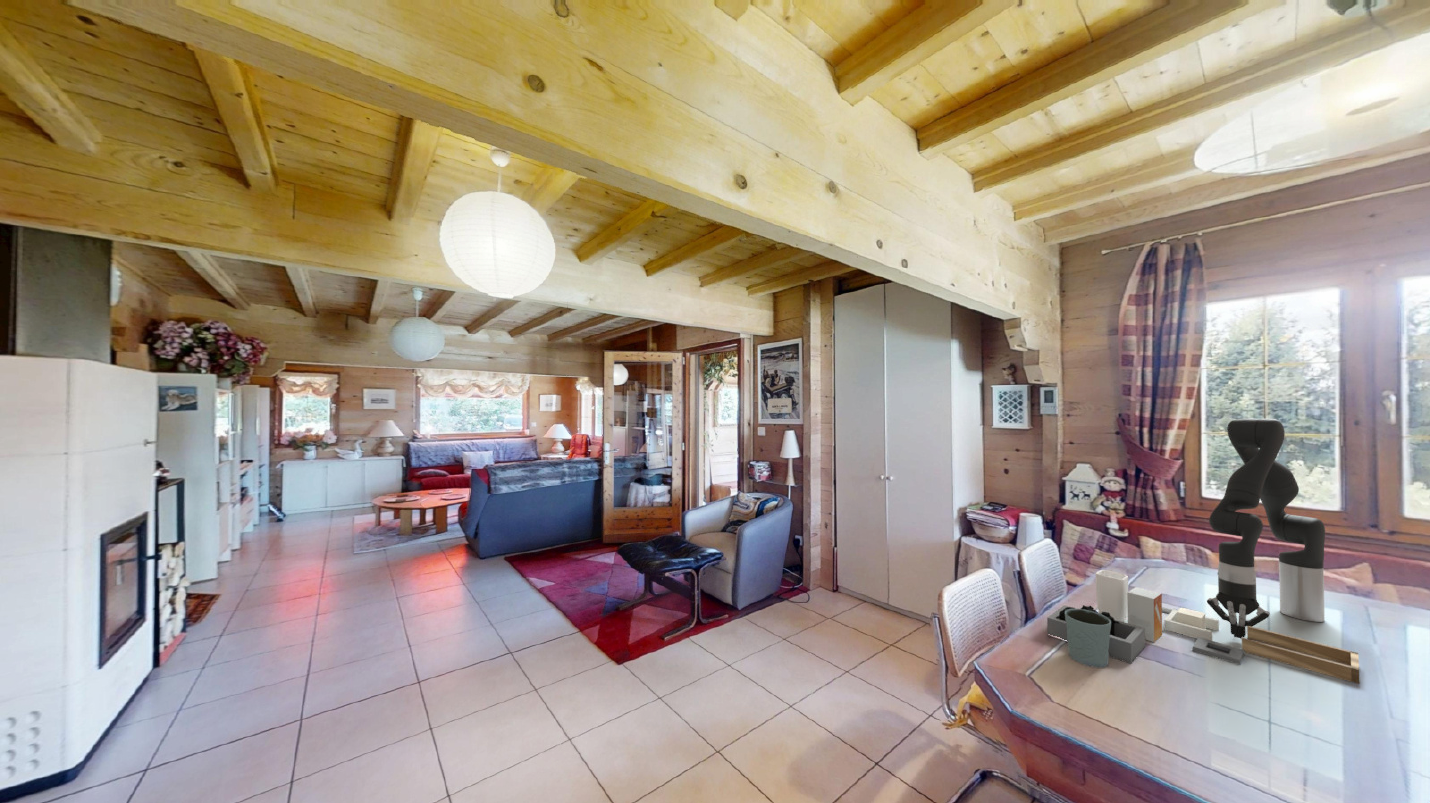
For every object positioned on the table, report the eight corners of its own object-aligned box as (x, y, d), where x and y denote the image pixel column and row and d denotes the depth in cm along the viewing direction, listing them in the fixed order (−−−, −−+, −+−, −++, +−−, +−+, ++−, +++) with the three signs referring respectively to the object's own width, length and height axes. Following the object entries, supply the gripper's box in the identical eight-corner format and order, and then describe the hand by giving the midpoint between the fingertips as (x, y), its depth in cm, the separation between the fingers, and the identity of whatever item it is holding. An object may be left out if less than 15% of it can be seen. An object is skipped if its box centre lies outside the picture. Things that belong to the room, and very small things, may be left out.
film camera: (1072, 645, 135) (1071, 614, 135) (1055, 630, 145) (1055, 601, 145) (1132, 651, 132) (1132, 620, 132) (1111, 635, 141) (1111, 606, 142)
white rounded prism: (1130, 620, 151) (1129, 575, 152) (1122, 626, 147) (1122, 580, 148) (1102, 612, 158) (1101, 568, 158) (1094, 618, 153) (1093, 573, 154)
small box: (1154, 642, 137) (1154, 598, 138) (1127, 634, 143) (1126, 591, 143) (1163, 635, 142) (1162, 592, 142) (1135, 627, 147) (1135, 586, 147)
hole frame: (1198, 640, 138) (1198, 636, 138) (1244, 653, 131) (1244, 649, 131) (1192, 650, 133) (1192, 646, 133) (1239, 664, 126) (1239, 660, 126)
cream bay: (1173, 617, 153) (1173, 608, 154) (1218, 629, 145) (1218, 619, 145) (1164, 629, 146) (1164, 619, 146) (1211, 642, 137) (1211, 632, 137)
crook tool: (1156, 609, 160) (1156, 605, 160) (1212, 621, 150) (1212, 618, 150) (1156, 613, 157) (1156, 609, 157) (1213, 625, 148) (1213, 622, 148)
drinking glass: (1104, 654, 131) (1104, 612, 131) (1118, 673, 122) (1117, 627, 122) (1061, 646, 135) (1060, 605, 136) (1070, 664, 126) (1070, 620, 126)
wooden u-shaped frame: (1247, 636, 140) (1247, 625, 140) (1358, 665, 125) (1358, 652, 125) (1242, 651, 132) (1242, 638, 133) (1359, 683, 117) (1359, 669, 117)
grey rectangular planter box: (1064, 622, 151) (1064, 605, 151) (1145, 646, 135) (1144, 628, 135) (1047, 635, 142) (1047, 617, 142) (1131, 663, 126) (1131, 643, 126)
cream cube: (1180, 624, 149) (1180, 607, 149) (1205, 630, 145) (1205, 613, 145) (1177, 629, 146) (1176, 611, 146) (1202, 636, 141) (1202, 618, 141)
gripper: (1272, 582, 135) (1274, 642, 135) (1207, 569, 145) (1208, 624, 145) (1269, 588, 130) (1271, 650, 130) (1202, 574, 141) (1203, 631, 141)
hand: (1238, 636), depth 138 cm, fingers closed
